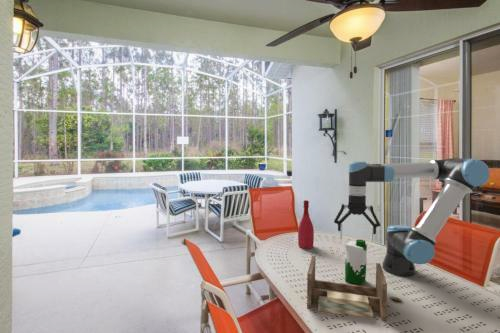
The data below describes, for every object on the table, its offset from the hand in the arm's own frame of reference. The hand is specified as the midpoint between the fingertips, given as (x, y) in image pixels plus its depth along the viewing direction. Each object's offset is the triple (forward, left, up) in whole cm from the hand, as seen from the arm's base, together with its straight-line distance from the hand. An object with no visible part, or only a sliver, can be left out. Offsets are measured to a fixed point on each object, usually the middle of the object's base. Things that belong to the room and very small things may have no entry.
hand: (356, 239), depth 132 cm
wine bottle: (+28, -40, -21) cm, 53 cm away
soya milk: (0, 0, -21) cm, 21 cm away
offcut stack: (+5, +27, -21) cm, 34 cm away
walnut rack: (+5, +21, -20) cm, 30 cm away
